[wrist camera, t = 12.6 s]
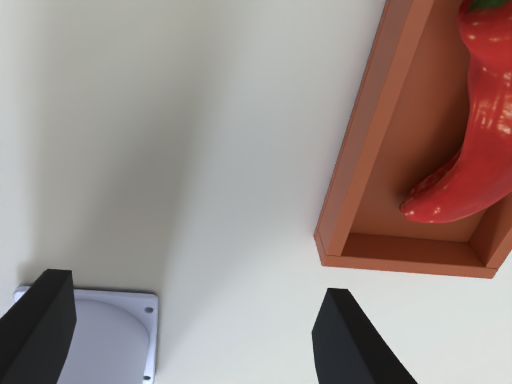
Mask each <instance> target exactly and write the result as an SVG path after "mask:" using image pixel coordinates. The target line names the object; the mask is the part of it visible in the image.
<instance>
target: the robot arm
mask: <svg viewBox="0 0 512 384" xmlns="http://www.w3.org/2000/svg"><path fill="white" fill-rule="evenodd" d="M13 297H14V302H15V304H14V305H13V306H12V307H11V308H10V309H9V310H8V312H7V313H6V314H5V315H4V316H3V317H2V318H1V319H0V384H154V379H155V360H156V340H157V320H158V301H159V300H158V297H157V296H155V295H153V294H144V293H128V292H112V291H95V290H79V289H73V280H72V271H71V270H57V269H47V270H46V271H44V272H43V273H42V274H41V275H40V277H39V278H38V279H37V280H36V281H35V282H34V283H33V284H32V286H31V287H30V286H20V287H17V288H16V289H15V291H14V293H13ZM149 307H151V308H149ZM312 342H313V352H314V360H315V368H316V372H317V377H318V381H319V384H418V383H417V382H416V381H415V380H414V378H413V377H412V376H411V375H410V373H409V372H408V371H407V370H406V369H405V367H404V366H403V365H402V364H401V362H400V361H399V360H398V358H397V357H396V356H395V354H394V353H393V352H392V350H391V349H390V348H389V346H388V345H387V344H386V342H385V341H384V340H383V338H382V337H381V336H380V334H379V333H378V332H377V330H376V329H375V327H374V326H373V325H372V323H371V322H370V320H369V319H368V317H367V316H366V315H365V313H364V312H363V310H362V309H361V307H360V306H359V304H358V303H357V301H356V300H355V299H354V297H353V296H352V294H351V293H350V292H349V290H348V289H338V288H328V289H327V292H326V294H325V297H324V300H323V303H322V305H321V308H320V311H319V313H318V316H317V319H316V322H315V324H314V327H313V330H312Z"/></svg>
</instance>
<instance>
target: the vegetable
mask: <svg viewBox="0 0 512 384" xmlns="http://www.w3.org/2000/svg"><path fill="white" fill-rule="evenodd" d="M456 25H457V28H458V30H459V33H460V36H461V39H462V41H463V42H464V44H465V45H466V46H467V48H468V50H469V52H470V55H471V58H470V63H469V67H468V73H467V85H468V95H469V104H470V112H469V118H468V123H467V129H466V133H465V139H464V142H463V144H462V145H461V147H460V149H459V150H458V151H457V153H456V154H455V155H454V156H453V157H452V158H451V159H450V160H449V161H448V162H446V163H445V164H444V165H442V166H441V167H439V168H438V169H436V170H435V171H433V172H432V173H430V174H429V175H427V176H426V177H424V178H423V179H422V180H420V181H419V182H418V183H417V184H416V185H415V186H414V187H413V188H412V189H411V190H410V192H409V193H408V194H407V196H406V197H405V198H404V200H403V201H402V203H401V205H400V207H399V210H400V211H401V213H402V214H403V216H404V217H405V218H406V219H408V220H412V221H416V222H420V223H448V222H453V221H456V220H458V219H461V218H464V217H466V216H469V215H472V214H474V213H476V212H478V211H481V210H483V209H485V208H487V207H489V206H491V205H493V204H494V203H496V202H497V201H499V200H500V199H502V198H503V197H505V196H506V195H507V194H509V193H510V192H511V191H512V0H464V1H463V2H462V3H461V5H460V6H459V8H458V11H457V17H456Z"/></svg>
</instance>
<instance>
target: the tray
mask: <svg viewBox="0 0 512 384" xmlns="http://www.w3.org/2000/svg"><path fill="white" fill-rule="evenodd" d="M463 1H464V0H387V1H386V4H385V7H384V10H383V14H382V17H381V20H380V23H379V27H378V30H377V33H376V36H375V39H374V43H373V46H372V49H371V52H370V56H369V59H368V62H367V65H366V68H365V72H364V75H363V78H362V81H361V85H360V88H359V91H358V94H357V97H356V101H355V104H354V107H353V110H352V114H351V117H350V120H349V123H348V126H347V130H346V133H345V136H344V139H343V143H342V146H341V149H340V152H339V155H338V159H337V162H336V165H335V168H334V172H333V175H332V178H331V181H330V184H329V188H328V191H327V194H326V197H325V201H324V204H323V207H322V210H321V213H320V217H319V220H318V223H317V226H316V230H315V233H314V239H315V242H316V246H317V250H318V253H319V257H320V261H321V265H322V266H327V267H340V268H354V269H367V270H380V271H394V272H407V273H420V274H434V275H447V276H460V277H474V278H487V279H492V278H493V277H494V275H495V274H496V272H497V271H498V268H500V266H501V265H502V263H503V262H504V260H505V259H506V257H507V256H508V254H509V253H510V251H511V250H512V191H511V192H510V193H509V194H507V195H506V196H505V197H503V198H502V199H500V200H499V201H497V202H496V203H494V204H493V205H491V206H489V207H487V208H485V209H483V210H481V211H478V212H476V213H474V214H472V215H469V216H466V217H464V218H461V219H458V220H456V221H453V222H448V223H420V222H416V221H412V220H408V219H406V218H405V217H404V216H403V214H402V213H401V211H400V210H399V207H400V205H401V203H402V201H403V200H404V198H405V197H406V196H407V194H408V193H409V192H410V190H411V189H412V188H413V187H414V186H415V185H416V184H417V183H418V182H419V181H420V180H422V179H423V178H424V177H426V176H427V175H429V174H430V173H432V172H433V171H435V170H436V169H438V168H439V167H441V166H442V165H444V164H445V163H446V162H448V161H449V160H450V159H451V158H452V157H453V156H454V155H455V154H456V153H457V151H458V150H459V149H460V147H461V145H462V144H463V142H464V139H465V133H466V129H467V123H468V118H469V112H470V104H469V95H468V85H467V73H468V67H469V63H470V58H471V55H470V52H469V50H468V48H467V46H466V45H465V44H464V42H463V41H462V39H461V36H460V33H459V30H458V28H457V25H456V17H457V11H458V8H459V6H460V5H461V3H462V2H463Z"/></svg>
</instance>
